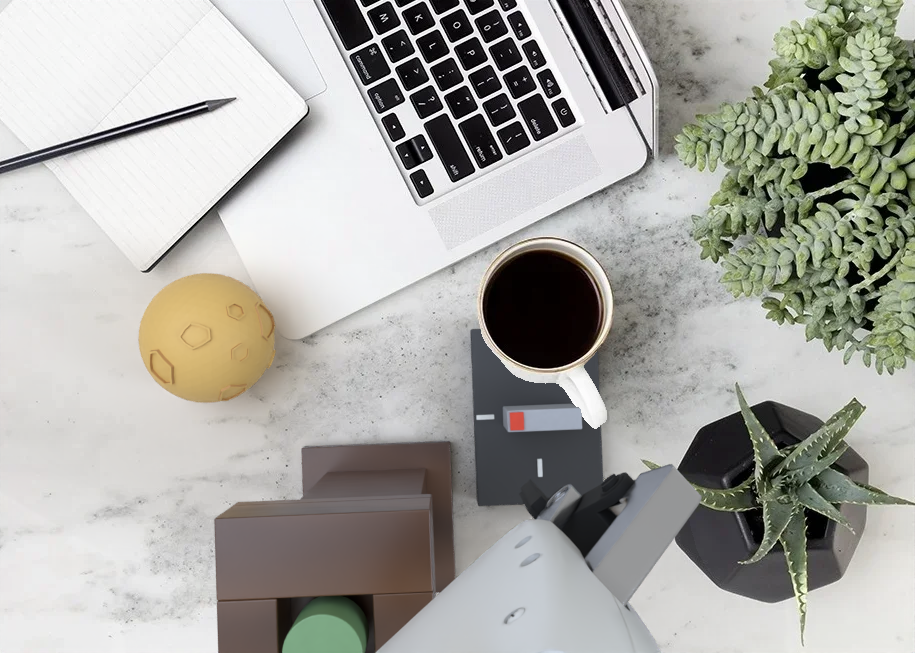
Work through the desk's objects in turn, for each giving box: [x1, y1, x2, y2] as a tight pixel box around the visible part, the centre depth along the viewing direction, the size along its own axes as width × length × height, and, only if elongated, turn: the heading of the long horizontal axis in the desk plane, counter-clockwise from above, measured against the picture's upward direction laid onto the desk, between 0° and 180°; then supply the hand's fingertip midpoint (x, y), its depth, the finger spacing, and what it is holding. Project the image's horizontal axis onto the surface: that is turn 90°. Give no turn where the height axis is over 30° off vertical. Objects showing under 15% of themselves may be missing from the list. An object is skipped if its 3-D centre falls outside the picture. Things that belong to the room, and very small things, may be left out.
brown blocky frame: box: [213, 494, 437, 653], centre depth 38 cm, size 12×10×4 cm
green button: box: [282, 596, 369, 653], centre depth 36 cm, size 4×4×3 cm
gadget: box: [469, 328, 604, 507], centre depth 63 cm, size 14×10×3 cm
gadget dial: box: [503, 404, 582, 432], centre depth 59 cm, size 6×2×5 cm, turn 92°
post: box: [300, 440, 456, 594], centre depth 52 cm, size 12×12×24 cm
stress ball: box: [138, 272, 277, 404], centre depth 59 cm, size 10×10×10 cm
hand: (458, 599), depth 30 cm, fingers open, 9 cm apart
